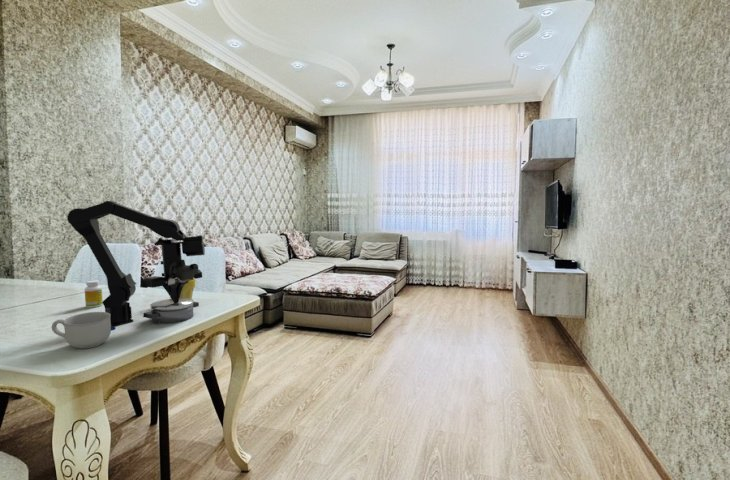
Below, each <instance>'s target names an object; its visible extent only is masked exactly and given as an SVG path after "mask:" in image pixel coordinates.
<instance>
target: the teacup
mask: <svg viewBox="0 0 730 480" xmlns="http://www.w3.org/2000/svg"><path fill="white" fill-rule="evenodd" d="M110 317H111V314H109V313H107V312H105V311H91V312H83V313H79V314H74V315H70V316H69V317H67V318H65V319H63V318H62V319H61V318H60V319H56V320H55V321H54V322H53V323H52V325H51V330H52V332H53V333H54V335H57V336H59V337H62V338H63V339H64V340H66V343H68V345H70V346H71V347H74V348H76V349H82V350H83V349H84V350H85V349H90V348H95V347H97V346H100V345H102V344H103V343H104V342H105V341H107V340H108V338H109V337H110V335H111V333H112V332H111V331H112V326H111V320H110ZM58 324H60V325H62V326H63V329H64V332H63V331H61V330H60V329H58Z"/></svg>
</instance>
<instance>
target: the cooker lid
mask: <svg viewBox="0 0 730 480" xmlns="http://www.w3.org/2000/svg"><path fill="white" fill-rule="evenodd" d="M193 301H194V300H193V298H192V299H189V298H179V301H178V303H174V302H173V300H172V299H171V298H167V299H161V300H158V301H155V302H152V303H151V304H150V311H151V310H154V311H172V310H179V309H183V308H187V307H190V306H192V305H193Z"/></svg>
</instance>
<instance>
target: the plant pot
mask: <svg viewBox="0 0 730 480" xmlns="http://www.w3.org/2000/svg"><path fill="white" fill-rule="evenodd" d="M186 281H189V282H188V283H186V284H185V285H184V286H183V288H182V291H181V294H180V298H189V299H193V293H194V289H195V288H196V279H195V278H193V279H188V280H186ZM169 299H171V297H170V296H169Z"/></svg>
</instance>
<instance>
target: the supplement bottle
mask: <svg viewBox="0 0 730 480" xmlns="http://www.w3.org/2000/svg"><path fill="white" fill-rule="evenodd" d="M85 282H86V283H85V284H86V287H85V288H84V299H85V307H86V308H90V309H93V308H99V307H102V306H104V305H103V301H104V300H103V289H102V288H103V287H102V286H100V281H99V280H98V279H97V280H95V279H94V280H88V281H85Z"/></svg>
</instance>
